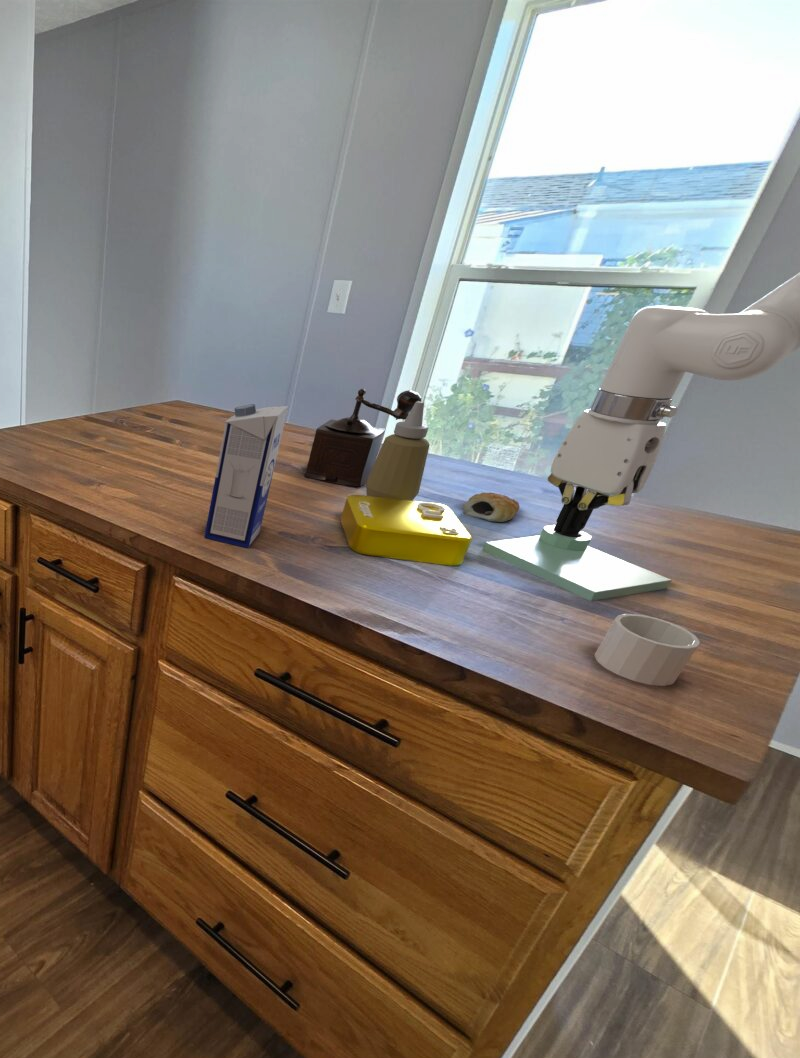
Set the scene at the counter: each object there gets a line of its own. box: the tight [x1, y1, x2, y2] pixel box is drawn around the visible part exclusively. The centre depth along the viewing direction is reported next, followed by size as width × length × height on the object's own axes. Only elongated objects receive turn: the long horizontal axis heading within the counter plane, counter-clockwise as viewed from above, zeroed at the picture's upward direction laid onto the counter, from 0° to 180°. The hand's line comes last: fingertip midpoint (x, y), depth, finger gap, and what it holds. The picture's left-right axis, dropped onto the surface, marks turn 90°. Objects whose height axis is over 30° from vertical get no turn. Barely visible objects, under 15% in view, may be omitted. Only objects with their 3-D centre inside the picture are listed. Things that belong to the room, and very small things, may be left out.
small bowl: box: [594, 613, 701, 687], centre depth 70 cm, size 7×7×6 cm
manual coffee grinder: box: [304, 388, 422, 488], centre depth 122 cm, size 16×11×18 cm
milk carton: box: [204, 403, 289, 549], centre depth 97 cm, size 7×7×20 cm
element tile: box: [340, 494, 473, 567], centre depth 100 cm, size 15×15×5 cm
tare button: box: [555, 531, 580, 538], centre depth 98 cm, size 3×3×2 cm
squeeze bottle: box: [365, 401, 430, 501], centre depth 109 cm, size 8×8×18 cm
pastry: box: [461, 491, 520, 523], centre depth 110 cm, size 9×7×4 cm
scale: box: [481, 524, 673, 602], centre depth 93 cm, size 16×14×3 cm
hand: (566, 531), depth 97 cm, fingers closed
